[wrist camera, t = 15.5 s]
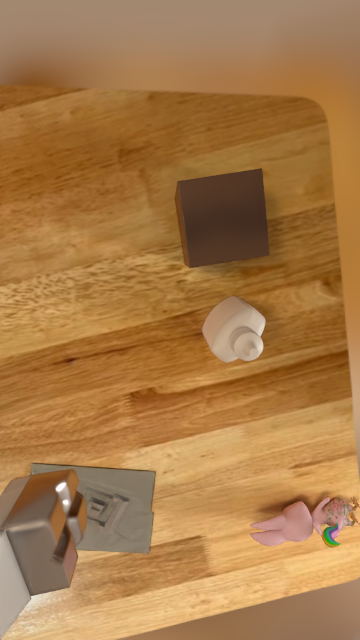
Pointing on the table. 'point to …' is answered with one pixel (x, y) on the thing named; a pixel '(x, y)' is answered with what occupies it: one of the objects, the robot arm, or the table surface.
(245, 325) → the eye dropper bottle
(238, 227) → the walnut block
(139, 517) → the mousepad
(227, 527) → the table surface
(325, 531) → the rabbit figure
